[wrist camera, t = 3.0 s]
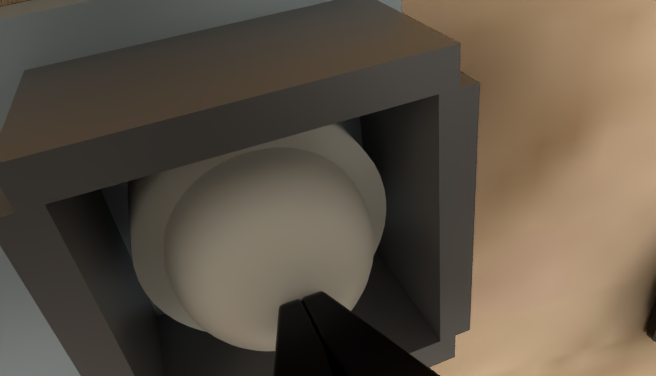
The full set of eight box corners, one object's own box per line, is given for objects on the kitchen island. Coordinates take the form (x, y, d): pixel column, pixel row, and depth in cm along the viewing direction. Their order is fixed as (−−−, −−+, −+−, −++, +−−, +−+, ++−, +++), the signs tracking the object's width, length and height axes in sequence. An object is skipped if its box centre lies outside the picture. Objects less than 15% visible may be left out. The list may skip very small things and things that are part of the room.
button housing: (380, -11, 12) (481, 37, 9) (398, 255, 16) (469, 351, 13) (2, 75, 10) (-45, 173, 7) (136, 345, 15) (146, 481, 12)
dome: (341, 56, 12) (438, 138, 9) (362, 243, 15) (440, 358, 12) (89, 120, 11) (82, 245, 7) (168, 308, 14) (190, 458, 11)
